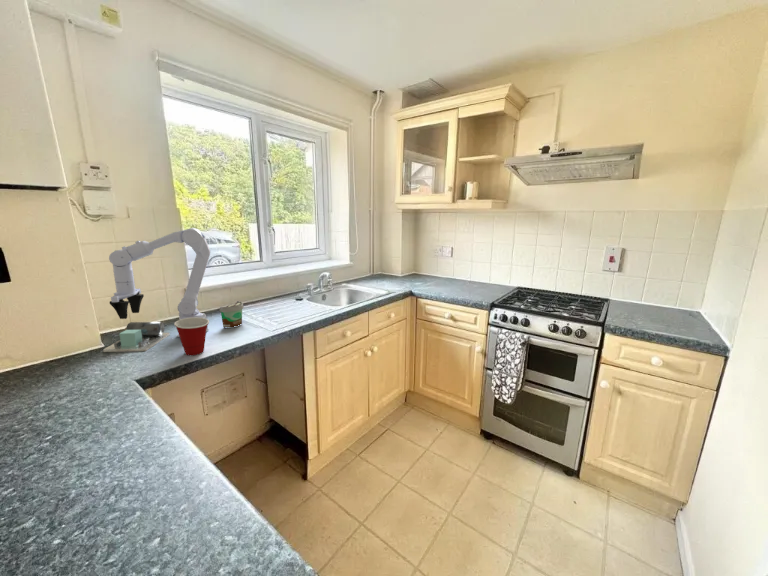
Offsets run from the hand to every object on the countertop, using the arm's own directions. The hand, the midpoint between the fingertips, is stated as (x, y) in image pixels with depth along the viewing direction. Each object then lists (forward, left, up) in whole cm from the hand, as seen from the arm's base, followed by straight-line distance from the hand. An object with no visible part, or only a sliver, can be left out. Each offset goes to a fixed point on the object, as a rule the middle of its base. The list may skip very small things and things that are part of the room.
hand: (129, 315), depth 123 cm
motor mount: (-4, +3, -10) cm, 11 cm away
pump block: (-4, +7, -9) cm, 12 cm away
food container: (-34, -16, -10) cm, 39 cm away
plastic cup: (-29, +14, -10) cm, 34 cm away
